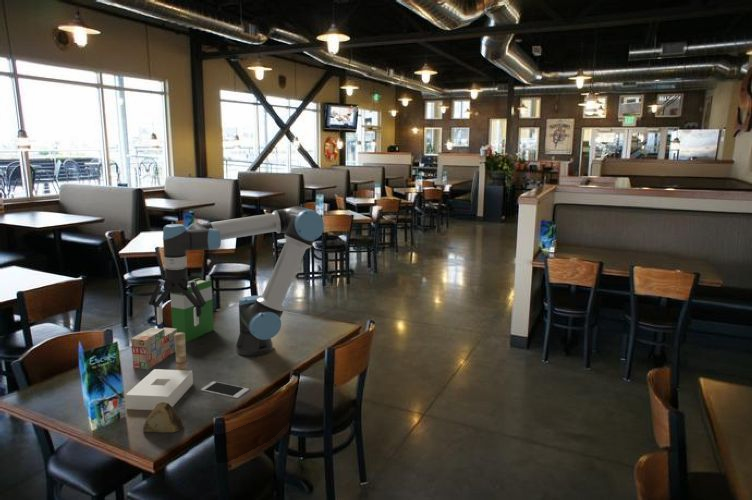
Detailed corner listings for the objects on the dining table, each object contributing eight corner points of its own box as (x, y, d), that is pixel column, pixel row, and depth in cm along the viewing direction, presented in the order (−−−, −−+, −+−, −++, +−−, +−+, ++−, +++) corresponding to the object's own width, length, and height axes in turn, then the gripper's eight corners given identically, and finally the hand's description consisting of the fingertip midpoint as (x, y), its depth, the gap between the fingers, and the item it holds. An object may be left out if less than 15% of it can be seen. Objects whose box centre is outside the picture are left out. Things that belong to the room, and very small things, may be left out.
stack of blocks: (165, 348, 222) (164, 320, 219) (179, 349, 221) (177, 321, 218) (132, 368, 201) (130, 338, 199) (147, 370, 200) (145, 339, 198)
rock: (131, 428, 154) (156, 432, 150) (142, 399, 158) (166, 402, 154) (158, 435, 163) (182, 439, 159) (168, 407, 167) (191, 410, 162)
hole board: (193, 383, 189) (192, 370, 188) (168, 410, 169) (168, 396, 168) (154, 382, 190) (154, 369, 189) (126, 409, 170) (125, 394, 169)
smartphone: (237, 399, 179) (237, 397, 179) (200, 391, 184) (200, 389, 184) (249, 391, 185) (249, 388, 185) (213, 383, 191) (213, 380, 190)
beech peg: (188, 372, 198) (186, 332, 195) (184, 377, 194) (182, 336, 191) (179, 372, 198) (176, 332, 195) (174, 376, 194) (172, 335, 191)
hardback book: (201, 327, 247) (198, 278, 243) (213, 330, 244) (211, 280, 240) (172, 339, 231) (169, 286, 227) (185, 342, 229) (183, 289, 224)
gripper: (136, 268, 185) (139, 325, 189) (206, 271, 184) (208, 328, 188) (146, 264, 193) (149, 319, 196) (213, 266, 192) (215, 322, 195)
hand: (178, 324), depth 192 cm, fingers open, 13 cm apart
